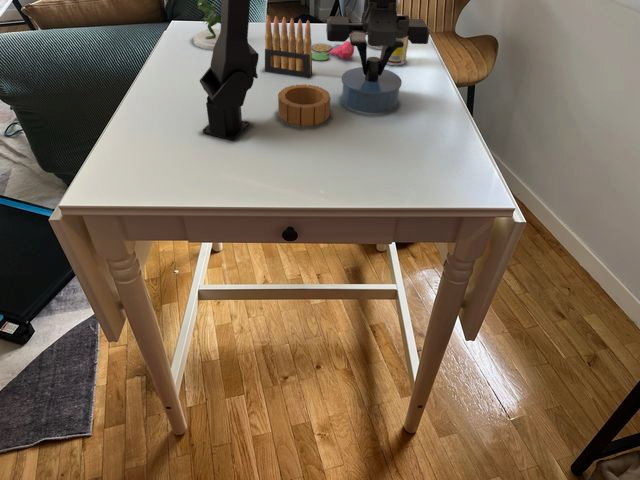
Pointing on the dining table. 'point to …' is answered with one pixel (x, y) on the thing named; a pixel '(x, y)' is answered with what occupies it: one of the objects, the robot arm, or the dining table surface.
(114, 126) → the dining table surface
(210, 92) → the robot arm
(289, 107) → the brown grooved ring
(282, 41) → the ammunition clip
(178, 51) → the dining table surface
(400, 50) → the supplement bottle
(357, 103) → the pot
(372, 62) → the pot lid
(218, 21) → the monster figurine
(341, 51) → the toy pieces
